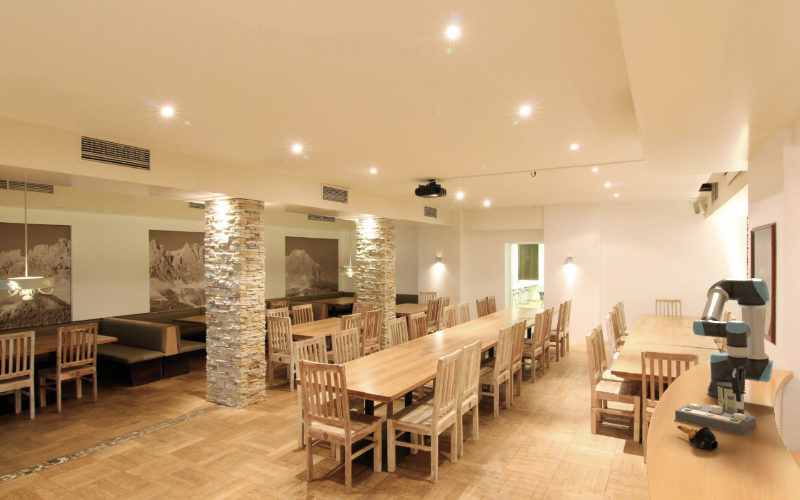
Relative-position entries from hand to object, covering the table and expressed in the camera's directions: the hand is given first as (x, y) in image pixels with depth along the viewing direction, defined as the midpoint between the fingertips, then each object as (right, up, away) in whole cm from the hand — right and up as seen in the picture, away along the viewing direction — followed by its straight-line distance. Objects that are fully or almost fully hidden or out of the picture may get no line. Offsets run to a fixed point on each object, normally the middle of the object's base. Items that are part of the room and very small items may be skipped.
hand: (739, 408), depth 199 cm
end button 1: (-11, -8, +14) cm, 20 cm away
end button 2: (0, -8, -1) cm, 8 cm away
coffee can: (+8, -9, +16) cm, 20 cm away
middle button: (-6, -7, +7) cm, 11 cm away
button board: (-8, -8, +5) cm, 12 cm away
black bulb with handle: (-31, -8, -18) cm, 37 cm away
